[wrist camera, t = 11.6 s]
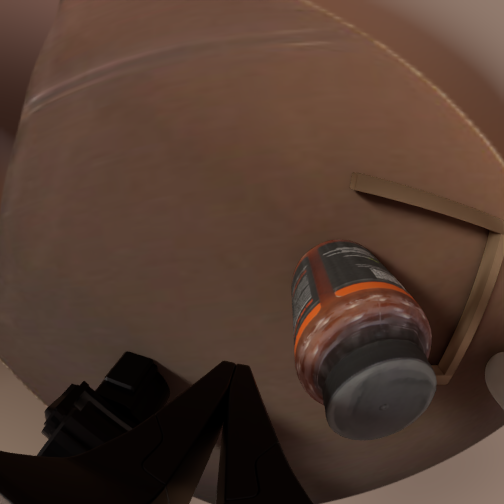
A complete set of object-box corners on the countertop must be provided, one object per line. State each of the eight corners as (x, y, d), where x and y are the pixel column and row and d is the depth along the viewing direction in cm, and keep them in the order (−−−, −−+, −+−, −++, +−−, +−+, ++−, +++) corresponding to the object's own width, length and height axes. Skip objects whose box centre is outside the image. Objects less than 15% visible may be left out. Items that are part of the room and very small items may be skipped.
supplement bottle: (299, 327, 20) (302, 466, 9) (283, 246, 18) (275, 356, 7) (381, 311, 19) (444, 432, 8) (374, 228, 17) (473, 309, 6)
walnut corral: (441, 374, 20) (447, 384, 18) (303, 363, 20) (304, 376, 19) (500, 219, 16) (511, 223, 14) (352, 172, 16) (358, 172, 15)
